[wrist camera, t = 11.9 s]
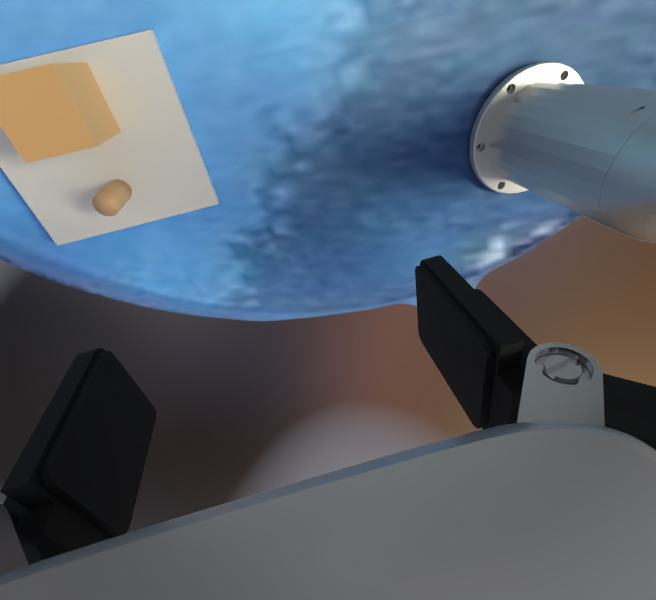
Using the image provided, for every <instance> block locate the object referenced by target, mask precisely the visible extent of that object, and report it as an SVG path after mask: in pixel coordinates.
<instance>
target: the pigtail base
mask: <svg viewBox="0 0 656 600" xmlns="http://www.w3.org/2000/svg"><path fill="white" fill-rule="evenodd" d="M76 62H87V63H88V65H89V67H90V69H91V71H92V73H93V75H94V77H95V79H96V82H97V84H98V86H99V88H100V90H101V92H102V94H103V96H104V98H105V100H106V102H107V104H108V106H109V108H110V110H111V112H112V114H113V116H114V118H115V120H116V122H117V124H118V126H119V128H120V130H121V132H120V133H118V134H116V135H115V136H113V137H111V138H110V139H108V140H107V141H105V142H103V143H102V144H100V145H98V146H97V147H93V148H88V149H84V150H80V151H76V152H72V153H68V154H64V155H59V156H55V157H51V158H47V159H43V160H39V161H35V162H30V163H25V162H24V160H23V159H22V157H21V156H20V154H19V153H18V151H17V150H16V148H15V147H14V145H13V144H12V142H11V141H10V139H9V138H8V136H7V135H6V133H5V132H4V130H3V129H2V128H1V126H0V167H1V169H2V170H3V171H4V173H5V174H6V176H7V177H8V178H9V180H10V181H11V183H12V184H13V185H14V187H15V188H16V189H17V191H18V192H19V194H20V195H21V196H22V198H23V199H24V200H25V202H26V203H27V205H28V206H29V207H30V209H31V210H32V212H33V213H34V214H35V216H36V217H37V218H38V220H39V221H40V223H41V224H42V225H43V227H44V228H45V229H46V231H47V232H48V234H49V235H50V236H51V238H52V239H53V241H54V242H55V243H56V245H57V246H59V245H62V244H66V243H70V242H74V241H78V240H82V239H86V238H90V237H94V236H97V235H101V234H105V233H109V232H113V231H117V230H121V229H125V228H128V227H132V226H136V225H140V224H144V223H148V222H152V221H156V220H159V219H163V218H167V217H171V216H175V215H179V214H183V213H187V212H191V211H194V210H198V209H202V208H206V207H210V206H214V205H218V204H219V199H218V196H217V194H216V191H215V189H214V186H213V183H212V181H211V178H210V176H209V173H208V171H207V168H206V165H205V163H204V160H203V158H202V155H201V152H200V150H199V147H198V145H197V142H196V139H195V137H194V134H193V132H192V129H191V127H190V124H189V121H188V119H187V116H186V114H185V111H184V108H183V106H182V103H181V101H180V98H179V95H178V93H177V90H176V88H175V85H174V83H173V80H172V77H171V75H170V72H169V70H168V67H167V64H166V62H165V59H164V57H163V54H162V52H161V49H160V46H159V44H158V41H157V39H156V36H155V33H154V31H153V30H147V31H143V32H139V33H134V34H130V35H126V36H121V37H117V38H113V39H108V40H104V41H100V42H96V43H91V44H87V45H83V46H78V47H74V48H70V49H65V50H61V51H57V52H52V53H48V54H44V55H40V56H35V57H31V58H27V59H22V60H18V61H14V62H9V63H5V64H1V65H0V75H3V74H7V73H12V72H16V71H20V70H25V69H29V68H33V67H38V66H42V65H47V64H51V63H76Z"/></svg>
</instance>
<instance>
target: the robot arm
mask: <svg viewBox="0 0 656 600" xmlns="http://www.w3.org/2000/svg"><path fill="white" fill-rule="evenodd" d="M507 87H508V88H507ZM477 146H478V147H477ZM469 154H470V162H471V166H472V169H473V172H474V173H475V175H476V177H477V179H478V180H479V181H480V182H481V183H482V184H483V185H485V186H486V187H488V188H490V189H491V190H493V191H496V192H498V193H504V194H516V193H520V192H524V191H528V190H530V191H532V192H534V193H536V194H538V195H540V196H543V197H545V198H547V199H549V200H551V201H553V202H555V203H557V204H560V205H562V206H564V207H566V208H568V209H570V210H572V211H574V212H577V213H579V214H581V215H583V216H585V217H587V218H589V219H591V220H594V221H596V222H598V223H600V224H602V225H604V226H607V227H609V228H611V229H613V230H615V231H618V232H620V233H622V234H624V235H626V236H629V237H632V238H635V239H638V240H642V241H647V242H656V90H652V89H639V88H627V87H614V86H602V85H590V84H584V82H583V81H582V79H581V77H580V76H579V74H578V73H577V72H576V71H575V70H573V69H572V68H571V67H569V66H567V65H565V64H563V63H557V62H538V63H534V64H530V65H527V66H525V67H523V68H521V69H519V70H517V71H515V72H514V73H512V74H511V75H510V76H508V77H507V78H505V79H504V80H503V81H502V82H501V83H500V84H499V85H498V86H497V87H496V88H495V89H494V90H493V92H492V93H491V94H490V96H489V97H488V98H487V99H486V101H485V103H484V104H483V106H482V108H481V109H480V111H479V113H478V115H477V118H476V120H475V123H474V125H473V129H472V133H471V137H470V147H469ZM415 275H416V294H417V313H418V331H419V336H420V339H421V341H422V343H423V345H424V347H425V348H426V350H427V351H428V353H429V355H430V356H431V358H432V359H433V361H434V363H435V364H436V366H437V367H438V369H439V371H440V372H441V374H442V376H443V377H444V378H445V380H446V382H447V384H448V385H449V387H450V388H451V390H452V392H453V393H454V395H455V396H456V398H457V400H458V401H459V403H460V404H461V406H462V408H463V409H464V411H465V412H466V414H467V416H468V417H469V419H470V421H471V422H472V424H473V425H474V426H475V427H476V428H477V429H478V428H482V429H483V430H479V431H474V432H470V433H467V434H463V435H460V436H456V437H452V438H448V439H445V440H442V441H437V442H434V443H430V444H427V445H423V446H419V447H416V448H412V449H409V450H405V451H402V452H399V453H395V454H392V455H388V456H385V457H381V458H378V459H375V460H371V461H368V462H364V463H361V464H357V465H354V466H351V467H347V468H344V469H340V470H337V471H333V472H330V473H327V474H324V475H320V476H316V477H313V478H310V479H306V480H303V481H300V482H297V483H293V484H290V485H286V486H283V487H279V488H276V489H273V490H269V491H266V492H263V493H259V494H256V495H253V496H250V497H246V498H243V499H239V500H236V501H233V502H229V503H226V504H223V505H219V506H216V507H212V508H209V509H206V510H203V511H199V512H196V513H193V514H189V515H186V516H183V517H179V518H176V519H173V520H170V521H167V522H163V523H160V524H156V525H153V526H150V527H147V528H143V529H140V530H137V531H133V532H130V533H127V534H125V533H126V532H127V530H128V529H129V527H130V523H131V519H132V515H133V511H134V507H135V502H136V498H137V494H138V490H139V486H140V481H141V478H142V473H143V470H144V465H145V461H146V457H147V453H148V449H149V445H150V441H151V437H152V433H153V428H154V424H155V420H156V410H155V408H154V406H153V405H152V403H151V402H150V401H149V400H148V398H147V397H146V396H145V394H144V393H143V392H142V391H141V389H140V388H139V387H138V385H137V384H136V383H135V381H134V380H133V379H132V378H131V376H130V375H129V374H128V373H127V371H126V370H125V369H124V367H123V366H122V365H121V363H120V362H119V361H118V360H117V358H116V357H115V356H114V354H113V353H111V352H110V351H105V350H104V349H102V348H98V349H94V350H90V351H87V352H83V353H80V354H78V355H77V356H76V357H75V359H74V361H73V362H72V364H71V366H70V368H69V370H68V371H67V373H66V375H65V377H64V379H63V380H62V382H61V384H60V386H59V387H58V389H57V391H56V393H55V395H54V397H53V398H52V400H51V402H50V403H49V405H48V407H47V409H46V411H45V412H44V414H43V416H42V418H41V419H40V421H39V423H38V425H37V427H36V429H35V430H34V432H33V434H32V435H31V437H30V439H29V441H28V443H27V444H26V446H25V448H24V450H23V452H22V453H21V455H20V457H19V459H18V461H17V462H16V464H15V466H14V468H13V469H12V471H11V473H10V475H9V477H8V479H7V480H6V482H5V484H4V486H3V487H2V489H1V491H0V492H2V493H3V494H5V495H7V498H6V500H5V501H4V503H3V504H0V600H656V387H653V386H650V385H646V384H642V383H638V382H634V381H630V380H626V379H622V378H619V377H614V376H611V375H607V374H603V372H602V369H601V366H600V364H599V363H598V362H597V360H596V359H595V358H594V357H593V356H591V355H590V354H589V353H588V352H586V351H584V350H582V349H580V348H578V347H576V346H572V345H568V344H565V343H544V344H542V345H539V346H537V345H536V344H535V343H534V342H533V341H532V340H531V339H530V338H529V337H528V336H527V335H526V334H525V333H524V332H523V331H522V330H521V329H520V328H519V327H518V326H517V325H516V324H515V323H514V322H513V321H512V320H511V319H510V318H509V317H508V316H507V315H505V313H504V312H503V311H502V310H501V309H500V308H499V307H497V305H496V304H494V303H493V301H492V300H490V298H489V297H487V296H486V295H485V294H484V293H483V292H482V291H481V290H478V289H475V290H474V289H473V288H472V287H471V285H470V284H469V283H468V282H467V281H466V280H465V279H464V278H463V277H462V276H461V275H460V274H459V273H458V272H457V271H456V270H455V269H454V268H453V267H452V266H451V265H450V264H449V263H448V262H447V261H446V260H445V259H444V258H443V257H442V256H435V257H431V258H428V259H424V260H422V261H421V262H420V266H417V267H416V268H415Z"/></svg>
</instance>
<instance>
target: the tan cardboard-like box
mask: <svg viewBox="0 0 656 600" xmlns="http://www.w3.org/2000/svg"><path fill="white" fill-rule="evenodd" d="M0 126H1V128H2V129H3V130H4V132H5V133H6V135H7V136H8V138H9V139H10V141H11V142H12V144H13V145H14V147H15V148H16V150H17V151H18V153H19V154H20V156H21V157H22V159H23V160H24V162H25V163H30V162H35V161H39V160H43V159H47V158H51V157H55V156H59V155H64V154H68V153H72V152H76V151H80V150H84V149H88V148H93V147H97V146H98V145H100V144H102V143H103V142H105V141H107V140H108V139H110V138H111V137H113V136H115V135H116V134H118V133H120V132H121V130H120V128H119V126H118V124H117V122H116V120H115V118H114V116H113V114H112V112H111V110H110V108H109V106H108V104H107V102H106V100H105V98H104V96H103V94H102V92H101V90H100V88H99V86H98V84H97V82H96V79H95V77H94V75H93V73H92V71H91V69H90V67H89V65H88V63H87V62H76V63H51V64H47V65H42V66H38V67H33V68H29V69H25V70H20V71H16V72H12V73H7V74H3V75H0Z"/></svg>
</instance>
